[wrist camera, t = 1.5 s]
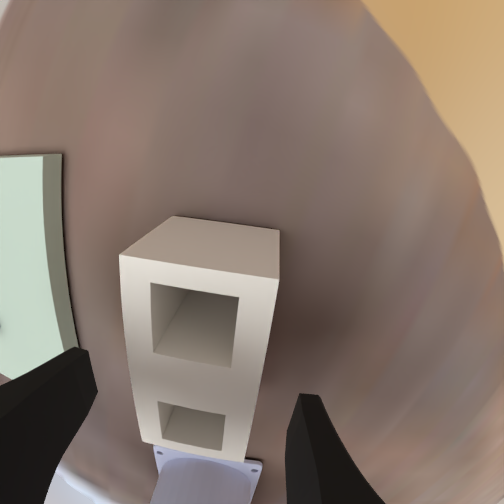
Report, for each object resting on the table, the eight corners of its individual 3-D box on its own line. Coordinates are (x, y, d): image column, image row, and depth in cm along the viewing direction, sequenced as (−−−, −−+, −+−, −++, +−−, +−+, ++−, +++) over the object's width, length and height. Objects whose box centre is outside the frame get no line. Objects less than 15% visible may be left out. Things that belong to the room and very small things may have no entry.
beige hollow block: (252, 389, 16) (243, 462, 11) (171, 374, 16) (142, 441, 12) (279, 230, 13) (279, 279, 8) (172, 215, 13) (119, 254, 8)
